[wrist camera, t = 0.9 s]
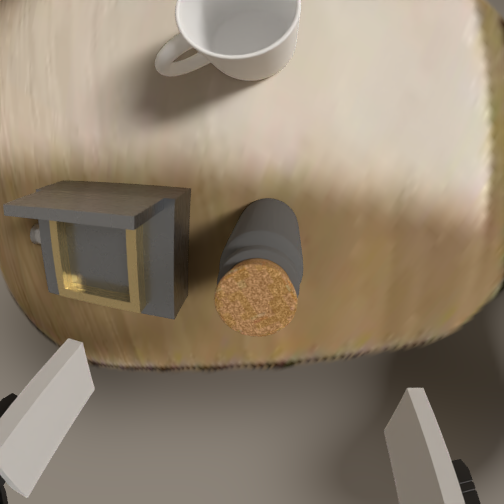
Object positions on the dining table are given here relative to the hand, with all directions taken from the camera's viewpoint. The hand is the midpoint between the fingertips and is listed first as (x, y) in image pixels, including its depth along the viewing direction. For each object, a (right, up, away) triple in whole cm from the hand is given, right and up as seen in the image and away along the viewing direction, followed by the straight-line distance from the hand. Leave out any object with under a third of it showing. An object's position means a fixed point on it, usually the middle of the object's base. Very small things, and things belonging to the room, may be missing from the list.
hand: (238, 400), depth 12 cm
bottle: (+2, +8, +21) cm, 22 cm away
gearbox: (-15, +8, +23) cm, 28 cm away
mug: (-1, +25, +15) cm, 29 cm away
